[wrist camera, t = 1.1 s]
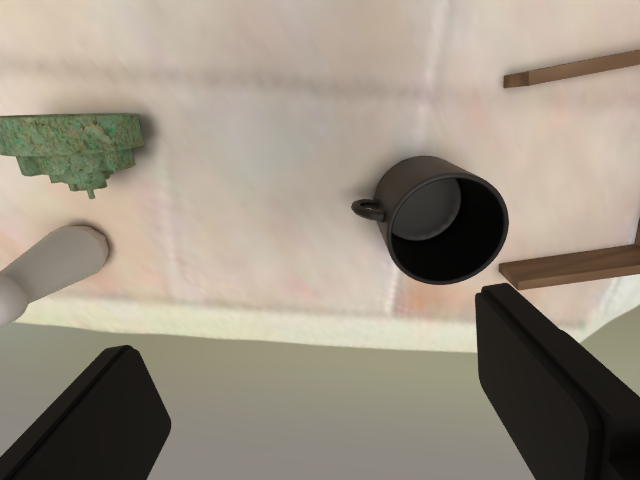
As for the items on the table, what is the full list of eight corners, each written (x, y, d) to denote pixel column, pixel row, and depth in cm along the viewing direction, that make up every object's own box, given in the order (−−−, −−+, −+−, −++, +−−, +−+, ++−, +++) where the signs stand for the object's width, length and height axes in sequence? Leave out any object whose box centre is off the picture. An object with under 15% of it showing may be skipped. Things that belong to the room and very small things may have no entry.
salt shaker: (60, 253, 37) (-67, 324, 25) (68, 210, 35) (-66, 264, 23) (111, 274, 38) (11, 351, 26) (122, 233, 36) (19, 296, 24)
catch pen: (504, 75, 29) (529, 71, 26) (686, 40, 28) (740, 30, 24) (499, 271, 37) (518, 290, 33) (642, 251, 35) (679, 268, 32)
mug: (355, 146, 32) (365, 160, 24) (476, 161, 32) (528, 181, 24) (342, 235, 36) (346, 275, 27) (451, 248, 36) (487, 291, 28)
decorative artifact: (158, 113, 31) (87, 116, 22) (171, 185, 34) (112, 215, 25) (56, 114, 32) (-57, 117, 22) (77, 185, 34) (-16, 215, 25)
